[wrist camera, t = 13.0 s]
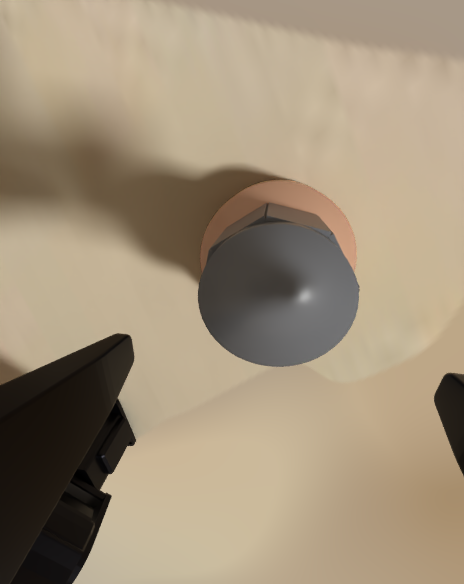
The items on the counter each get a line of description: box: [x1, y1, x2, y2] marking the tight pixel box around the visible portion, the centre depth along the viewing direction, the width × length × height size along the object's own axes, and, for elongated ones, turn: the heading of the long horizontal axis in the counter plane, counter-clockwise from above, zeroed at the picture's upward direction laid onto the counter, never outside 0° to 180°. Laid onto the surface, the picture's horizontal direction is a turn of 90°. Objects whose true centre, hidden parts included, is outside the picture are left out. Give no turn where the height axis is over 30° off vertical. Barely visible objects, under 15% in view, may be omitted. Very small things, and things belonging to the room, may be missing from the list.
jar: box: [200, 179, 357, 273], centre depth 15 cm, size 9×9×6 cm
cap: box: [198, 202, 359, 367], centre depth 13 cm, size 7×7×5 cm
